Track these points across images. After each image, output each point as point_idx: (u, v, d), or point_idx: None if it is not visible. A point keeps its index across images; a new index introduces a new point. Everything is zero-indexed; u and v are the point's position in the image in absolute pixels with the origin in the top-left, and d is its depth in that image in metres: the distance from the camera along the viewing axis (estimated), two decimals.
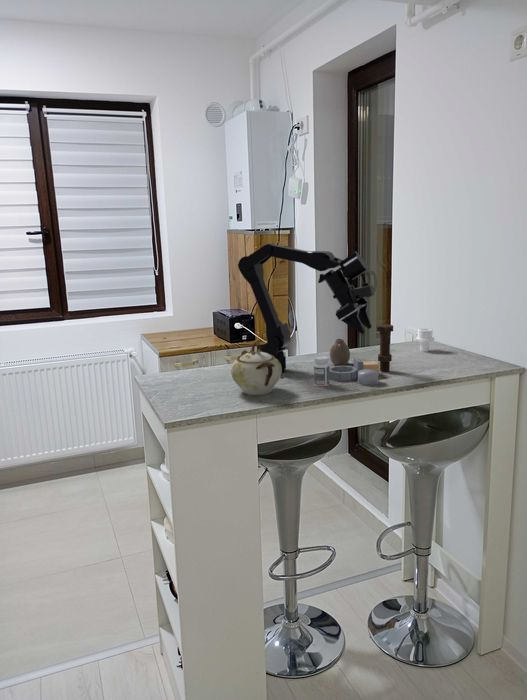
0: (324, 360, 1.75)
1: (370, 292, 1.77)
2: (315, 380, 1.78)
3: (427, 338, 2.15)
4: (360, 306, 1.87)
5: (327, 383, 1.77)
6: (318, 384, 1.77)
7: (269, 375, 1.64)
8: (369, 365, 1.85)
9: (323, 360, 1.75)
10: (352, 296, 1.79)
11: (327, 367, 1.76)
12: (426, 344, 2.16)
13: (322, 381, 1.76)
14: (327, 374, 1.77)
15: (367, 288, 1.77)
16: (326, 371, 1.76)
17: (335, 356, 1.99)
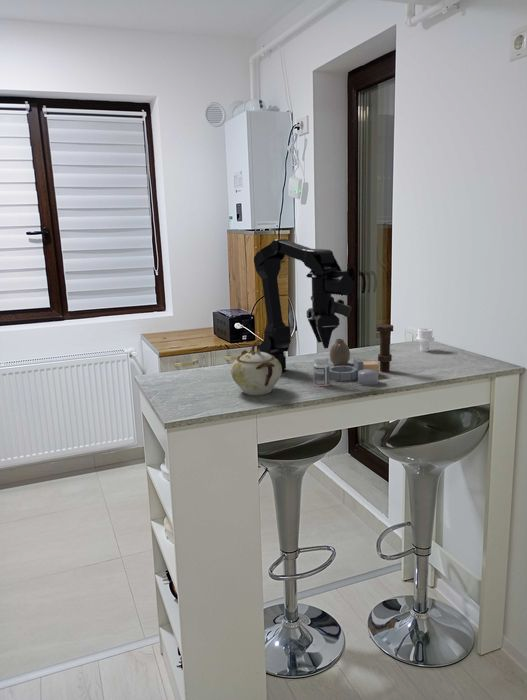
0: (324, 360, 1.75)
1: None
2: (315, 380, 1.78)
3: (427, 338, 2.15)
4: None
5: (327, 383, 1.77)
6: (318, 384, 1.77)
7: (269, 375, 1.64)
8: (369, 365, 1.85)
9: (323, 360, 1.75)
10: (332, 308, 1.72)
11: (327, 367, 1.76)
12: (426, 344, 2.16)
13: (322, 381, 1.76)
14: (327, 374, 1.77)
15: (349, 308, 1.73)
16: (326, 371, 1.76)
17: (335, 356, 1.99)
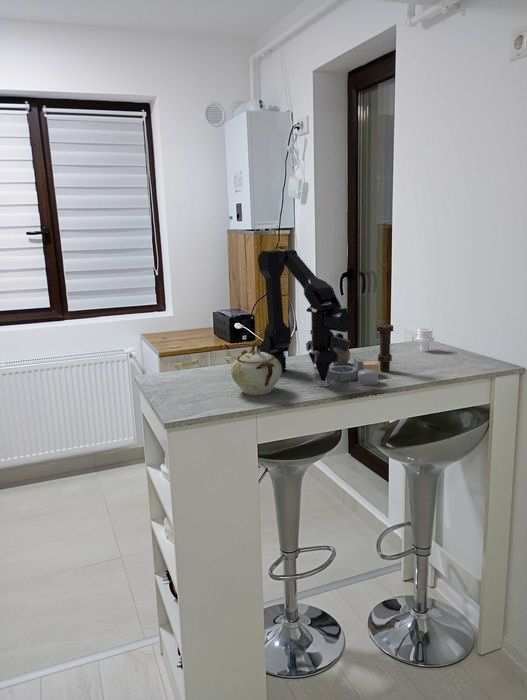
0: None
1: None
2: (315, 380, 1.78)
3: (427, 338, 2.15)
4: None
5: (327, 383, 1.77)
6: (318, 384, 1.77)
7: (269, 375, 1.64)
8: (369, 365, 1.85)
9: None
10: (331, 343, 1.74)
11: None
12: (426, 344, 2.16)
13: (322, 381, 1.76)
14: (327, 374, 1.77)
15: (348, 343, 1.75)
16: None
17: None
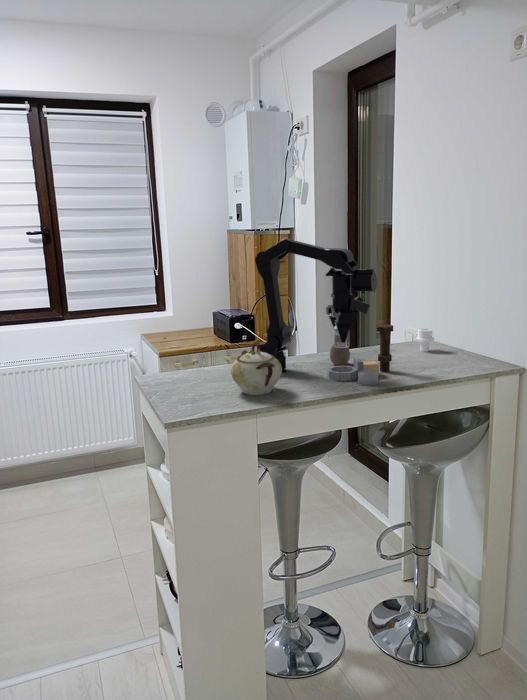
0: None
1: (367, 310, 1.81)
2: (335, 342, 1.83)
3: (427, 338, 2.15)
4: None
5: (347, 345, 1.83)
6: (338, 346, 1.82)
7: (269, 375, 1.64)
8: (369, 365, 1.85)
9: None
10: (352, 305, 1.79)
11: None
12: (426, 344, 2.16)
13: (343, 343, 1.82)
14: (347, 336, 1.82)
15: (368, 306, 1.80)
16: None
17: (335, 356, 1.99)
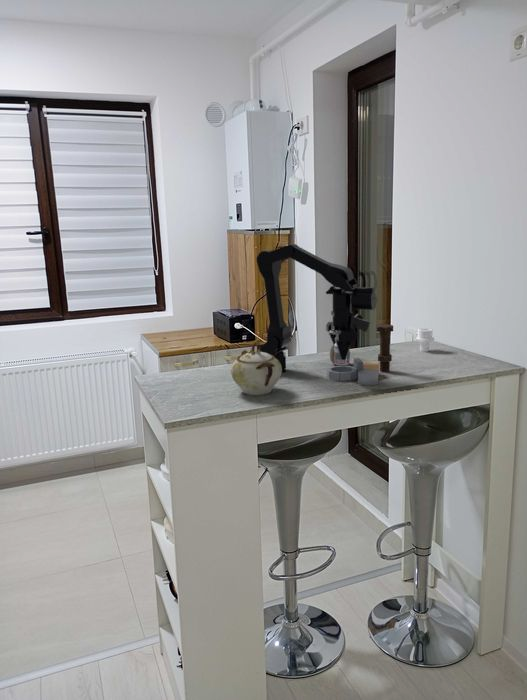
0: None
1: (367, 328, 1.82)
2: (335, 359, 1.84)
3: (427, 338, 2.15)
4: None
5: (347, 362, 1.84)
6: (338, 363, 1.84)
7: (269, 375, 1.64)
8: (369, 365, 1.85)
9: None
10: (352, 323, 1.80)
11: None
12: (426, 344, 2.16)
13: (343, 360, 1.83)
14: (347, 353, 1.83)
15: (367, 323, 1.81)
16: None
17: None
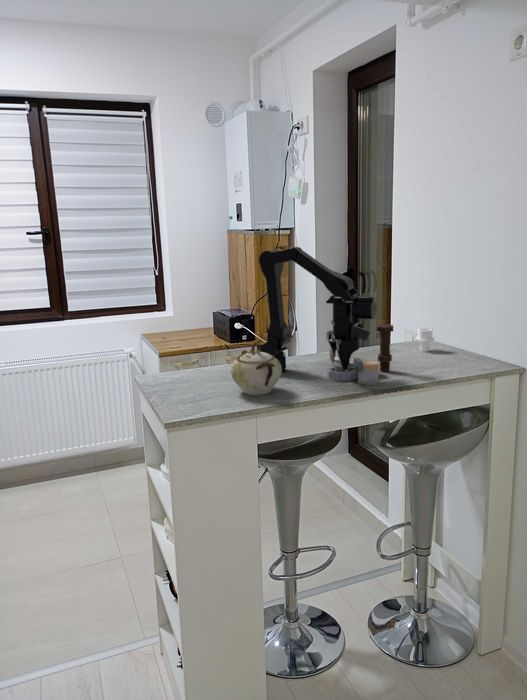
0: None
1: (367, 337, 1.83)
2: None
3: (427, 338, 2.15)
4: None
5: None
6: None
7: (269, 375, 1.64)
8: (369, 365, 1.85)
9: None
10: (352, 333, 1.81)
11: None
12: (426, 344, 2.16)
13: None
14: (347, 367, 1.84)
15: (368, 332, 1.82)
16: None
17: None
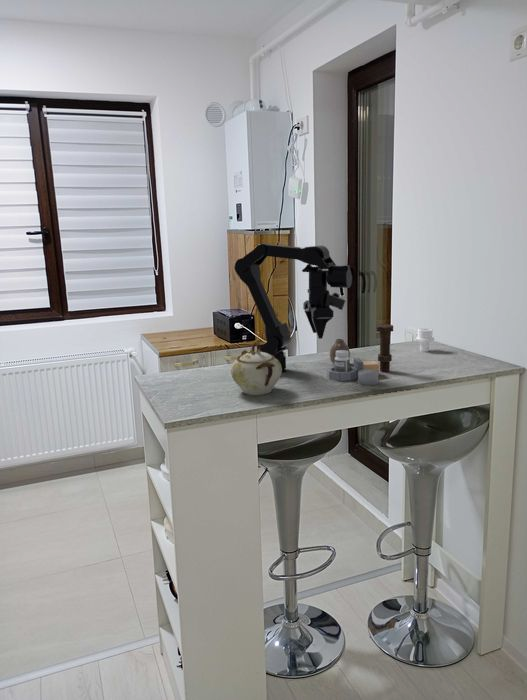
0: (345, 353, 1.83)
1: None
2: None
3: (427, 338, 2.15)
4: None
5: None
6: None
7: (269, 375, 1.64)
8: (369, 365, 1.85)
9: (344, 353, 1.83)
10: (327, 301, 1.83)
11: (347, 360, 1.84)
12: (426, 344, 2.16)
13: None
14: (347, 367, 1.84)
15: (343, 301, 1.84)
16: (347, 364, 1.84)
17: (335, 356, 1.99)
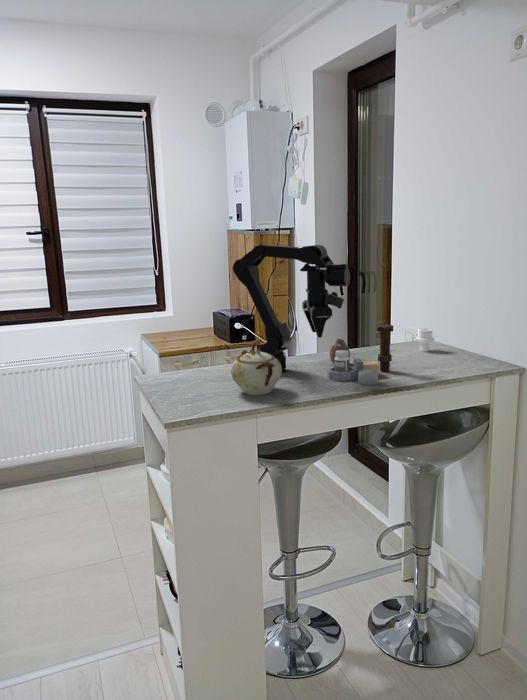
0: (345, 353, 1.83)
1: (341, 305, 1.85)
2: None
3: (427, 338, 2.15)
4: None
5: None
6: None
7: (269, 375, 1.64)
8: (369, 365, 1.85)
9: (344, 353, 1.83)
10: (326, 300, 1.83)
11: (347, 360, 1.84)
12: (426, 344, 2.16)
13: None
14: (347, 367, 1.84)
15: (342, 300, 1.84)
16: (347, 364, 1.84)
17: (335, 356, 1.99)
